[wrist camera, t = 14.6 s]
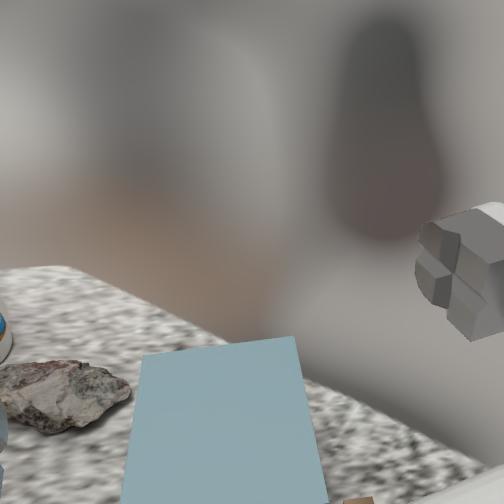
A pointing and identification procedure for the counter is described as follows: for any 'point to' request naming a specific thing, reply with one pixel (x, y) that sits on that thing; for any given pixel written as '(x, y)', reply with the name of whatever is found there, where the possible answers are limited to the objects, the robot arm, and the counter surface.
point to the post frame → (359, 501)
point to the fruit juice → (4, 339)
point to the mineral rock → (59, 393)
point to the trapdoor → (223, 429)
